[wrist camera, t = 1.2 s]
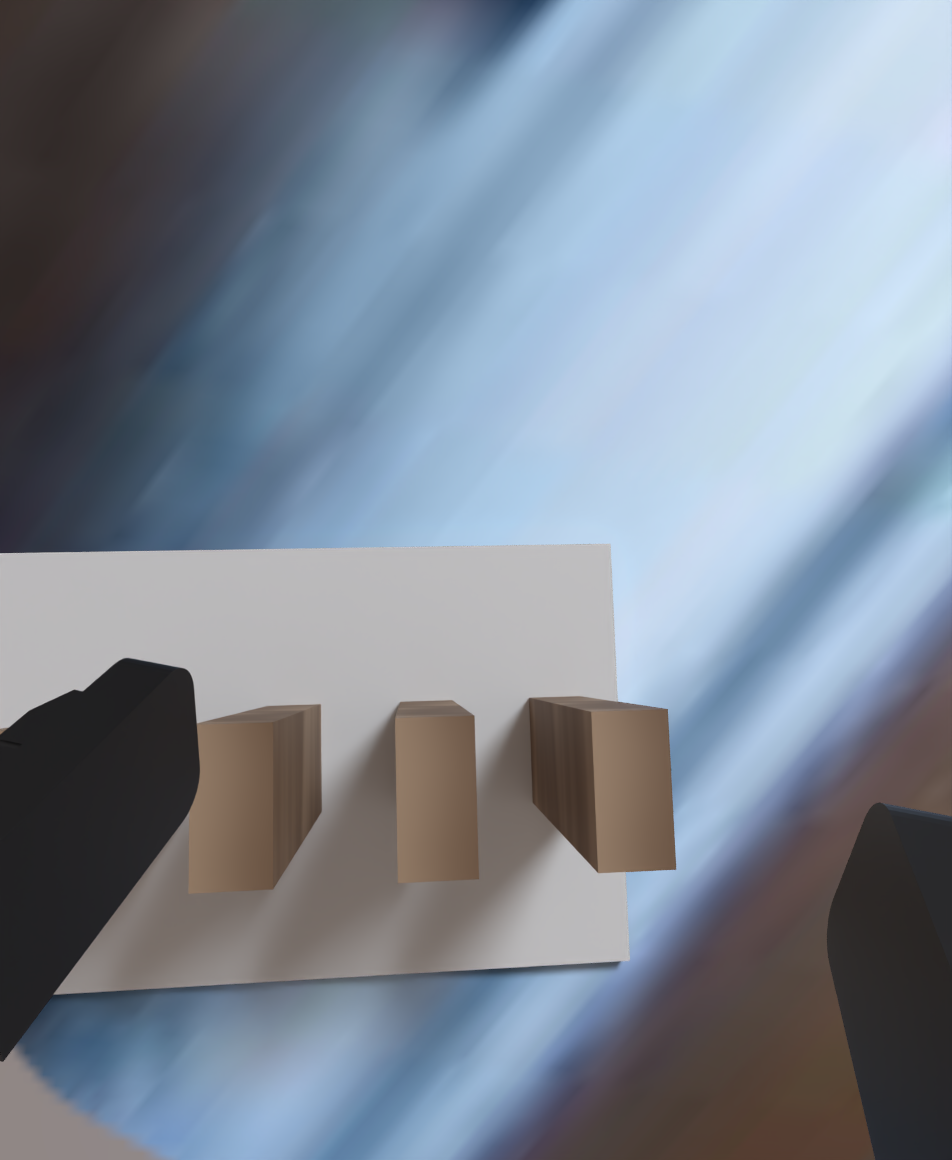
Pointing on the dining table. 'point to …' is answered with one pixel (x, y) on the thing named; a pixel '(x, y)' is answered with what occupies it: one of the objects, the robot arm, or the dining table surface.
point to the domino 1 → (254, 796)
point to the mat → (341, 745)
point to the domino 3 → (605, 780)
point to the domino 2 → (436, 792)
